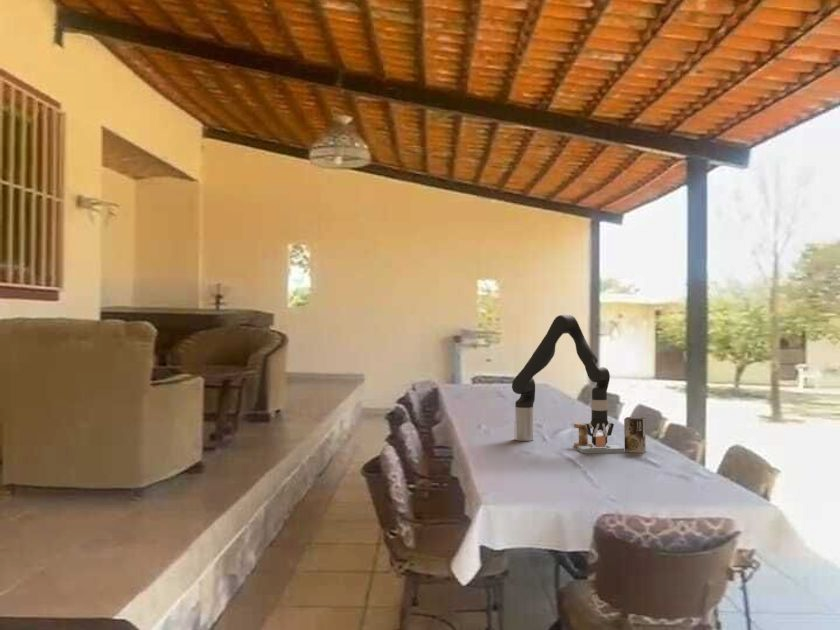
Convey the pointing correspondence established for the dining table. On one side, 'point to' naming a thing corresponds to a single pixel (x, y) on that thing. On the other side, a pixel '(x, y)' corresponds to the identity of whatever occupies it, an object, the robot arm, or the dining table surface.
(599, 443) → the orange block
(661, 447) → the dining table surface
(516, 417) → the robot arm
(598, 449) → the notch board
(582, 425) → the knob
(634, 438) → the coffee box
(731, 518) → the dining table surface
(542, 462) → the dining table surface
